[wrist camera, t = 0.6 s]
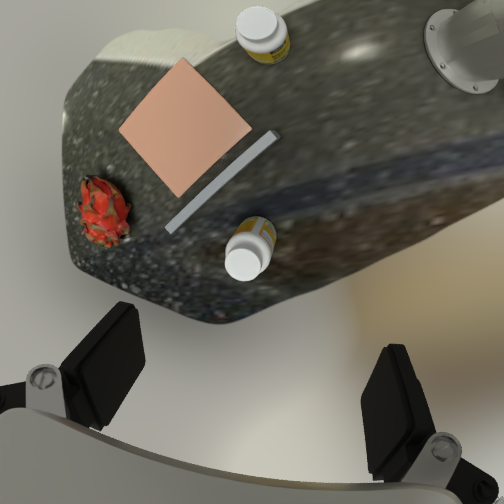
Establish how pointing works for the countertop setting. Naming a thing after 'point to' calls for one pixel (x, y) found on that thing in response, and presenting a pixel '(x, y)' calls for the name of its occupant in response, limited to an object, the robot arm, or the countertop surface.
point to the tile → (183, 127)
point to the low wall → (223, 179)
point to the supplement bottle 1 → (263, 35)
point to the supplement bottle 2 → (250, 248)
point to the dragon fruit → (103, 212)
